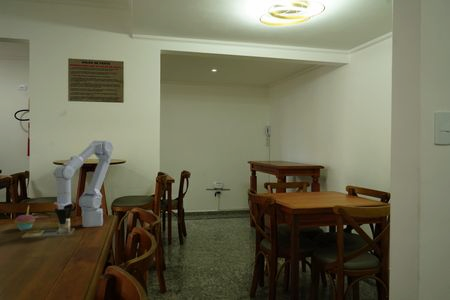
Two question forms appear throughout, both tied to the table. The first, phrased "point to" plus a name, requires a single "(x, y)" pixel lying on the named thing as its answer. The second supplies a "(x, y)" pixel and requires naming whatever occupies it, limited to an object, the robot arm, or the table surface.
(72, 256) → the table surface
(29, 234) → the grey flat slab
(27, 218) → the cupcake
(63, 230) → the beech block
